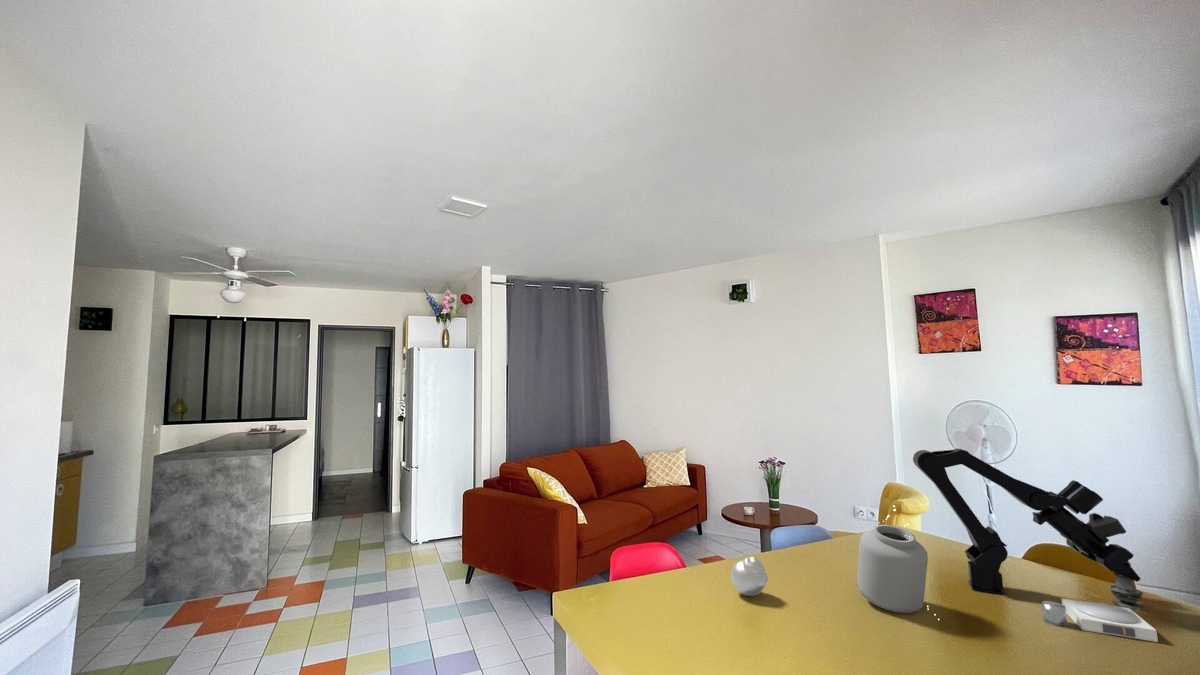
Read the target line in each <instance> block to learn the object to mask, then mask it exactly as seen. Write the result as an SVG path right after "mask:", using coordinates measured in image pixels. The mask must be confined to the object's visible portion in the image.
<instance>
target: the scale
mask: <svg viewBox="0 0 1200 675" xmlns="http://www.w3.org/2000/svg"><path fill="white" fill-rule="evenodd" d="M1061 604H1062V605H1064V606H1065V608H1066V615H1068V616H1069V617H1070V619H1072V621H1073V622H1074V623H1075V624H1076V626H1078V627H1079V629H1081V631H1087V632H1091V633H1092V632H1093V633H1098V634H1106V635H1112V636H1117V637H1123V638H1129V639H1137V640H1142V641H1148V642H1153V643H1154V642H1155V643H1158V642H1159V641H1158V634H1157V629H1155V628H1154V627H1153V626H1152V625H1151V624H1149V623H1148V622H1147V621H1145V620H1144V619H1143V618H1142V617H1141V616H1140V615H1138V614H1137V613H1136V612H1135V611H1133V609H1129V608H1124V607H1121V606H1118V605H1112V604H1108V603H1103V602H1096V601H1086V600H1083V601H1082V600H1075V599H1074V600H1073V599H1067V598H1061Z"/></svg>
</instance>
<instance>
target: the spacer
mask: <svg viewBox="0 0 1200 675" xmlns="http://www.w3.org/2000/svg"><path fill="white" fill-rule="evenodd" d="M1041 604H1042V613H1043V615H1042V616H1043V621H1044V622H1045V623H1047V624H1049V625H1052V626H1055V627H1061V628H1063V627H1064V628H1066V627H1068V619H1067V618H1068V617H1067V613H1066V608H1065V606H1064V605H1062V603H1059V602H1057V601H1051V600H1043V601H1042V602H1041Z"/></svg>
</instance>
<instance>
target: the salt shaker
mask: <svg viewBox="0 0 1200 675" xmlns="http://www.w3.org/2000/svg"><path fill="white" fill-rule="evenodd" d="M1127 562H1128V564H1129V565H1130V566H1131V567H1132V565H1131V562H1130V560H1129V561H1127ZM1112 574H1115V584H1114V585H1109V586H1108V588H1109V590H1110V591H1111V594H1112V595H1113V596H1114V597H1115V598H1116V599H1113V600H1112V604H1114V605H1115V606H1117V607H1124V608H1129V609H1131V610H1134V611H1135V610H1136V611H1138V610H1139V611H1140V610H1141V611H1142V610H1144V607H1143V606H1142V605H1141V604H1139V603H1138V602H1140V601H1142V597H1143V595H1144V592H1142V591H1141V590H1139V589H1137V588H1136V586H1135V584H1134V580H1132V579H1130V578H1127V577H1125V576H1123V575H1120V574H1118V573H1115V572H1113V571H1112Z"/></svg>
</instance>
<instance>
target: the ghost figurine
mask: <svg viewBox="0 0 1200 675" xmlns="http://www.w3.org/2000/svg"><path fill="white" fill-rule="evenodd" d="M730 575H731V576H730V577H731V582H732V585H733V587H734V588H735V589H736V591H738V593H740V594H741V595H744V596H746V597H755V596H757V595H759V594H760V593H762V591H763V590H764V588H765V587H766V586H767V583H768V580H769V576H768V574H767V572H766V567H765V565H764V564H763V563H762V561H761V560H760V559H758V558H757V557H754V556H747V557H745V558H744V559H741V560H740V561H738V562H736V563H735V564H734V565H733V567H732V569H731V574H730Z"/></svg>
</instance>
